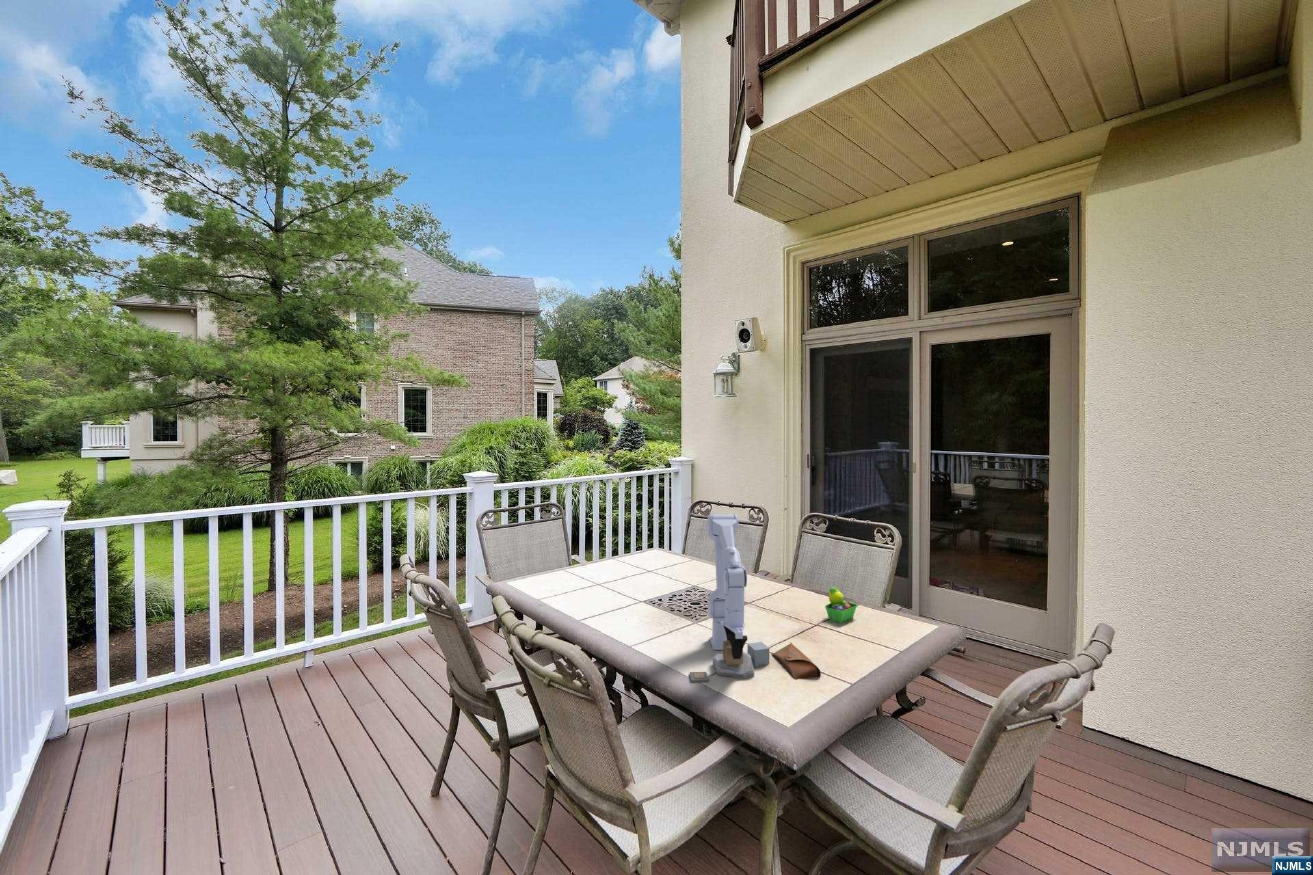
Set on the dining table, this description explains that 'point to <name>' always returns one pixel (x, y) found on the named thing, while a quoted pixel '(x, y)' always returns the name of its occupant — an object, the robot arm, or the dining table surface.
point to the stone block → (734, 667)
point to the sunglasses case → (796, 663)
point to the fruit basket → (839, 607)
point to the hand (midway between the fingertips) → (734, 652)
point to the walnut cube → (730, 654)
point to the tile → (699, 677)
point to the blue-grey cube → (758, 653)
